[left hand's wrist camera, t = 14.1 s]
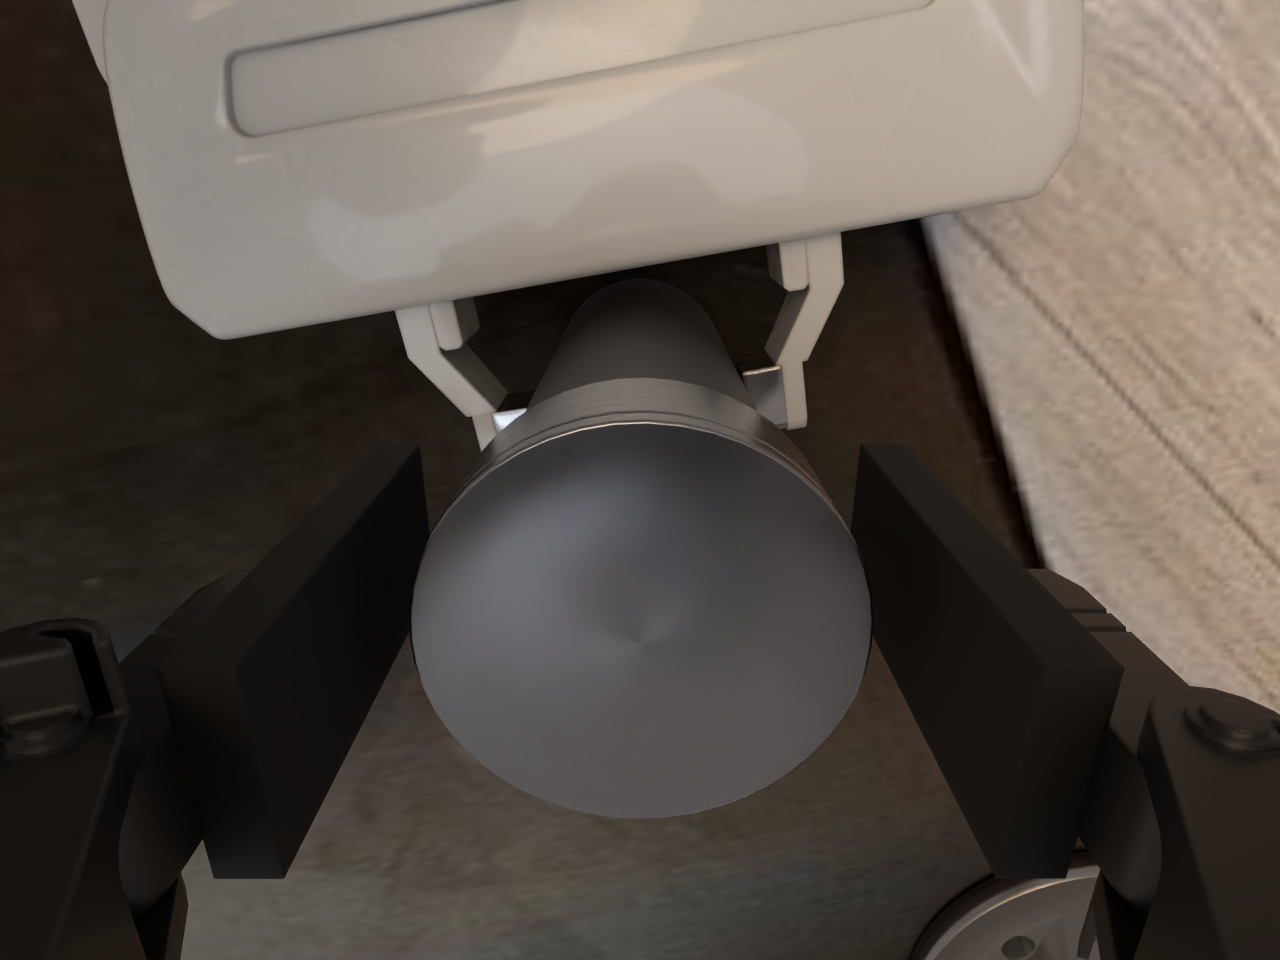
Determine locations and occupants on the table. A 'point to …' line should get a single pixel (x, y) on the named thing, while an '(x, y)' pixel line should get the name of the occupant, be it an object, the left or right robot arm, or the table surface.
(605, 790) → the lid
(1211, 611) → the table surface
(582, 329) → the jar
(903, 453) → the left robot arm
